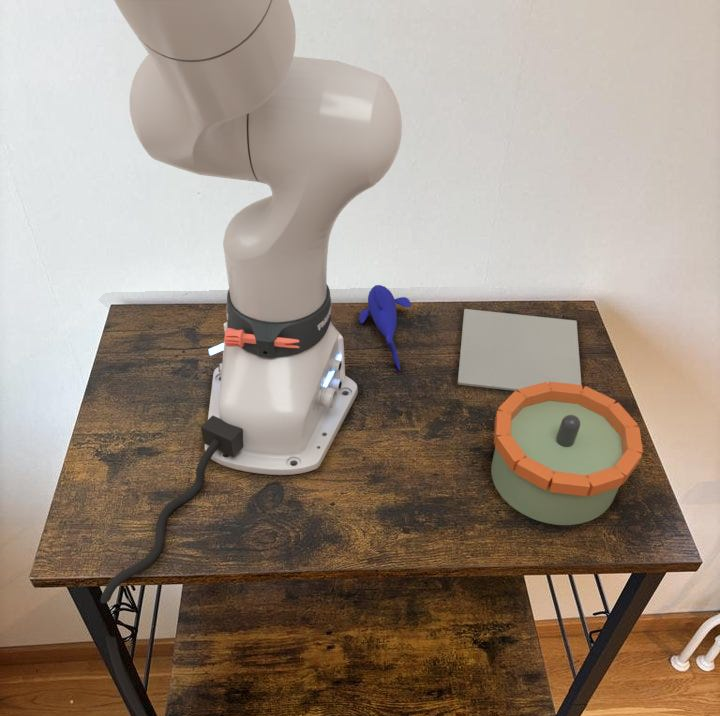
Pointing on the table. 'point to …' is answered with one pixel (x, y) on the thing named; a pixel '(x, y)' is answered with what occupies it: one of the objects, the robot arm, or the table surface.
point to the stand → (559, 460)
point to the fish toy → (384, 314)
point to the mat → (517, 350)
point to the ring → (562, 480)
